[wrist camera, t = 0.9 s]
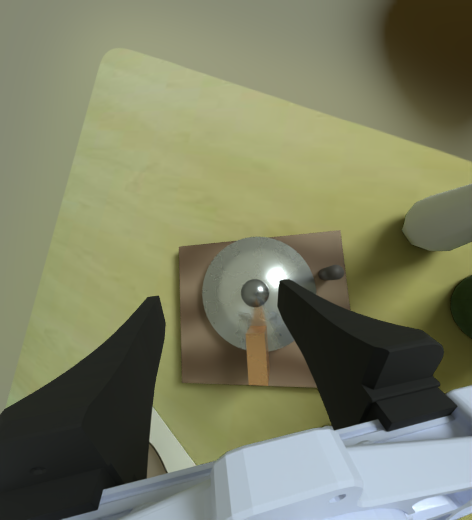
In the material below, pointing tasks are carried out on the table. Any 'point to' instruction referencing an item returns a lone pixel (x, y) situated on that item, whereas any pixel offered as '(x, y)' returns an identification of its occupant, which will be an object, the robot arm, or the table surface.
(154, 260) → the table surface
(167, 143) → the table surface
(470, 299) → the wine bottle
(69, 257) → the table surface
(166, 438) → the gable box
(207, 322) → the walnut board
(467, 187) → the salt shaker
